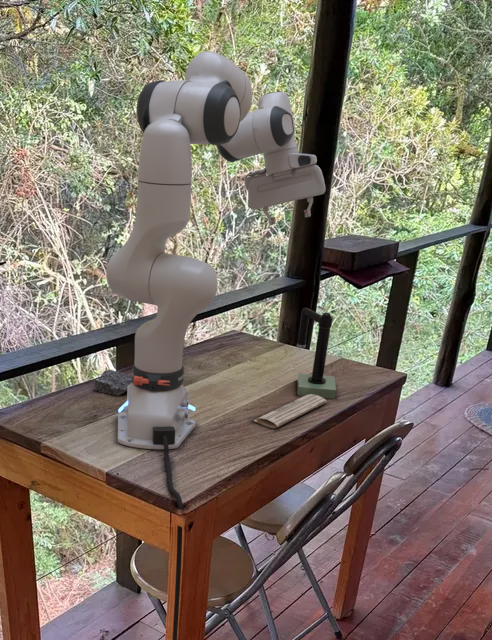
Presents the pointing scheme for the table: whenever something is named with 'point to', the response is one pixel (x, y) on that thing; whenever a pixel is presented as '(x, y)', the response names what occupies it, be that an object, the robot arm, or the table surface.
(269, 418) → the beige flat ridged bar
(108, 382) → the rock
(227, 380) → the table surface
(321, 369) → the tap pillar
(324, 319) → the spout
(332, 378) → the block
